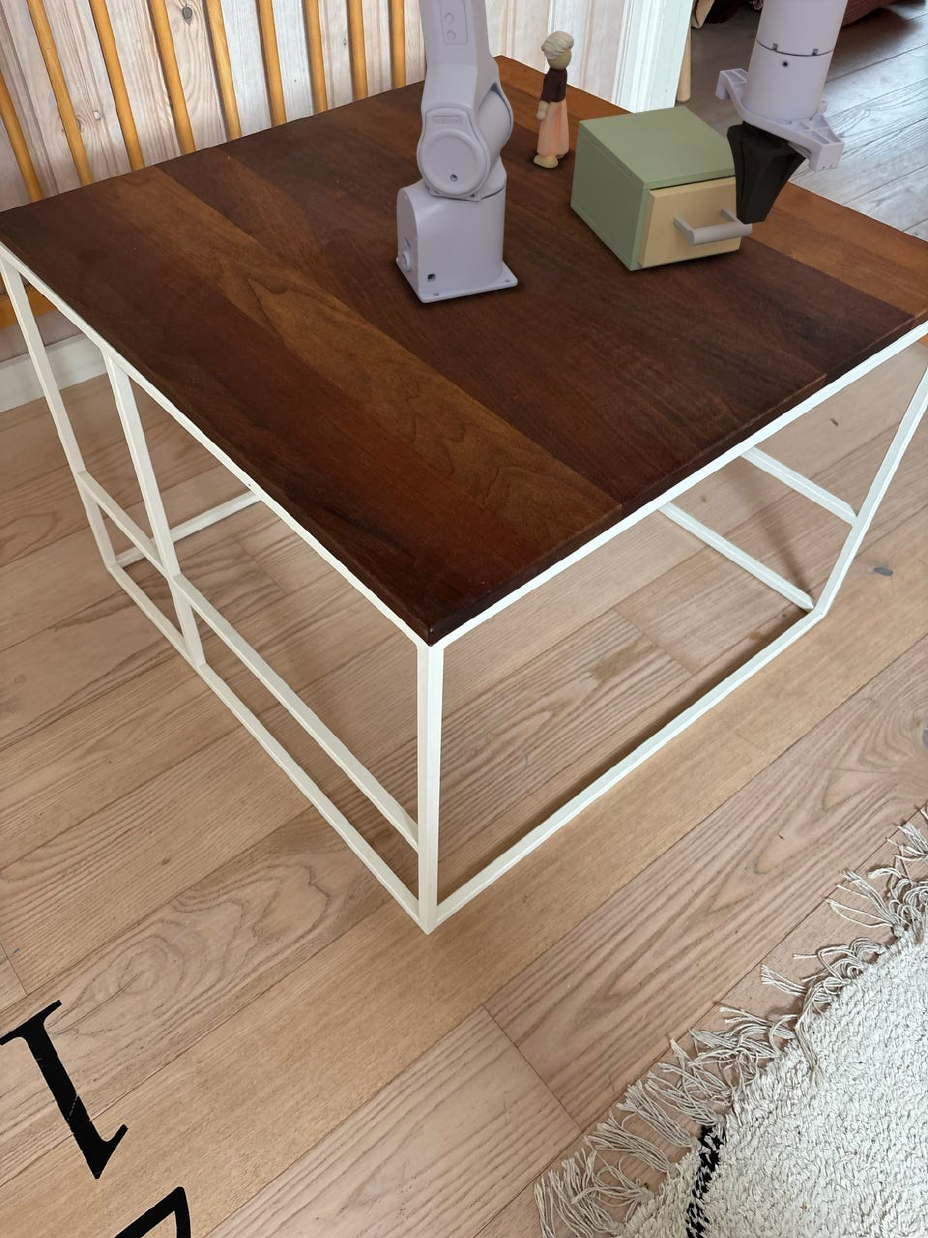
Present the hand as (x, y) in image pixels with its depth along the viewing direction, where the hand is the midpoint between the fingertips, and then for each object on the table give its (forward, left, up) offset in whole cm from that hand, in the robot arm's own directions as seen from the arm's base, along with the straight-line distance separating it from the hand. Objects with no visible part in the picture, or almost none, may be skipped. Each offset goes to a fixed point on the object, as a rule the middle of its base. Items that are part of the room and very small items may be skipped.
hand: (750, 219), depth 83 cm
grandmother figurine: (-2, +34, -9) cm, 36 cm away
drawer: (+1, +13, -8) cm, 15 cm away
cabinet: (+1, +16, -9) cm, 19 cm away
